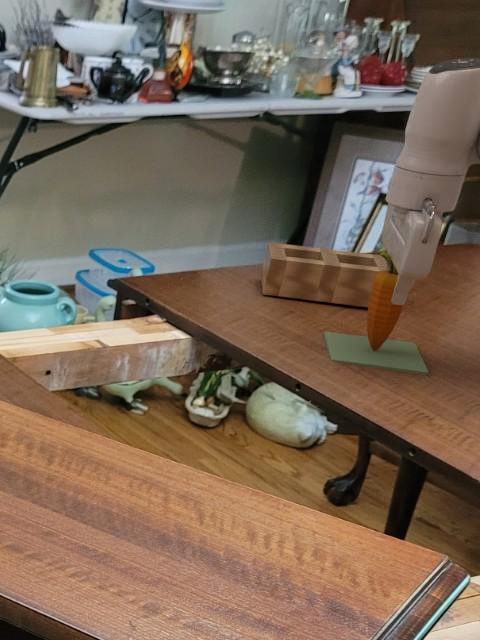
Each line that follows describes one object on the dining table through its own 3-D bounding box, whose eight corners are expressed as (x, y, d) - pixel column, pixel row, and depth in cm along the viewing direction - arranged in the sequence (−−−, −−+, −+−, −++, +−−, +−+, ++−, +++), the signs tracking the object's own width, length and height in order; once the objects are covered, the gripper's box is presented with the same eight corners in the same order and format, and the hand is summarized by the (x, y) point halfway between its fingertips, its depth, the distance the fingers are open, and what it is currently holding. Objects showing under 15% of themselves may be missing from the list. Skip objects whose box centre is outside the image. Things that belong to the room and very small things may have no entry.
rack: (376, 291, 189) (387, 255, 186) (384, 309, 180) (396, 272, 177) (260, 277, 193) (268, 242, 189) (262, 294, 184) (271, 258, 180)
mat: (413, 348, 164) (415, 342, 164) (427, 377, 153) (429, 372, 153) (322, 336, 166) (324, 331, 166) (330, 364, 156) (331, 359, 155)
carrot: (379, 359, 156) (408, 252, 148) (349, 349, 160) (375, 244, 152) (399, 352, 159) (428, 247, 151) (368, 342, 162) (395, 239, 154)
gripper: (462, 211, 138) (427, 318, 146) (435, 179, 155) (405, 277, 163) (409, 205, 140) (377, 312, 147) (389, 175, 156) (361, 272, 164)
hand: (392, 293), depth 155 cm, fingers open, 8 cm apart
